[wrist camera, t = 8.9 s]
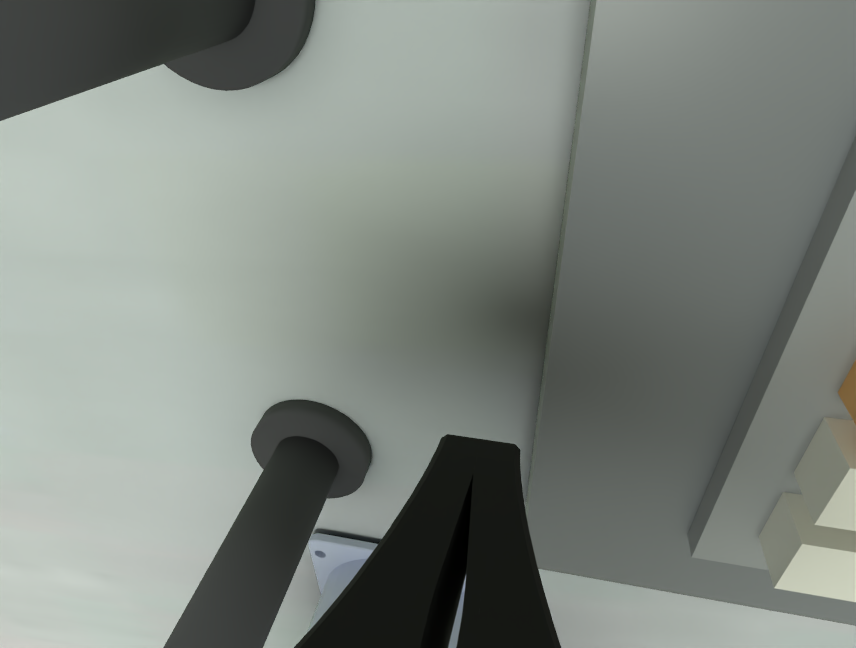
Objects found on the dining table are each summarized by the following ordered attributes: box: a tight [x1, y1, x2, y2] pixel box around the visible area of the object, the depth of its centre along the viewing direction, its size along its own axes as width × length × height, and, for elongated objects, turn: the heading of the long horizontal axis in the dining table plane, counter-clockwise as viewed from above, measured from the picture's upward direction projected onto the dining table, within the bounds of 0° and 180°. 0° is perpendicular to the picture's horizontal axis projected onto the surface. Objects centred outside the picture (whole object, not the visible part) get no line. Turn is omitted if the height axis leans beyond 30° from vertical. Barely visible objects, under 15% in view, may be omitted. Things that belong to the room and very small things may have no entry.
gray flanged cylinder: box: [164, 400, 372, 648], centre depth 18 cm, size 4×4×8 cm
